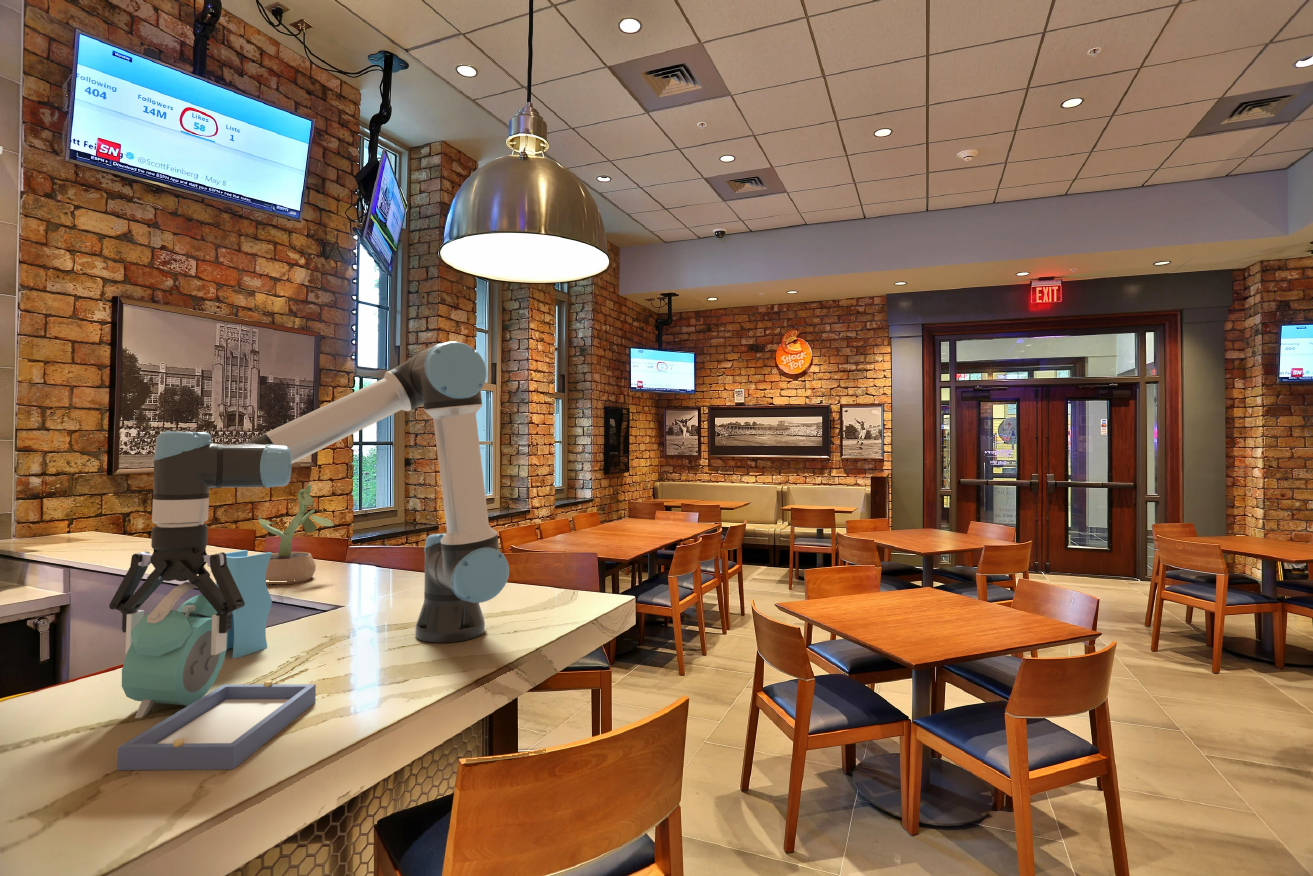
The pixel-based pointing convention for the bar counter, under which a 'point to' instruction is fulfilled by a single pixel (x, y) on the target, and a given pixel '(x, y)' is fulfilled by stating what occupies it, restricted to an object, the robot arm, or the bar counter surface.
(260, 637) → the vase
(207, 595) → the robot arm
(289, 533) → the potted plant
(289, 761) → the bar counter surface
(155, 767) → the shallow rectangular tray
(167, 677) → the alarm clock
